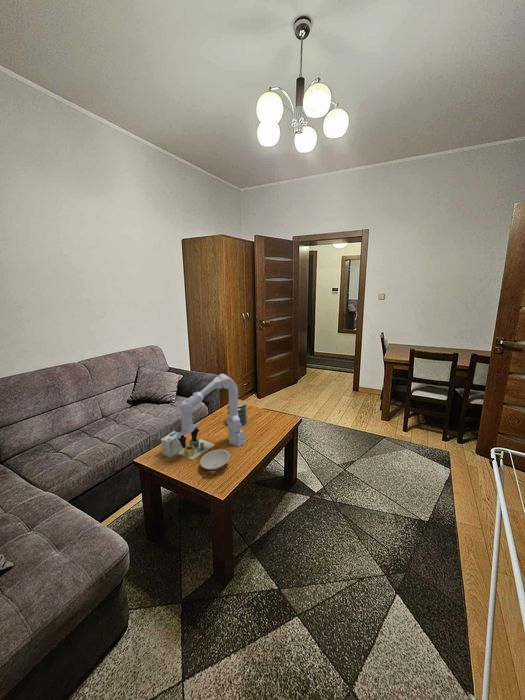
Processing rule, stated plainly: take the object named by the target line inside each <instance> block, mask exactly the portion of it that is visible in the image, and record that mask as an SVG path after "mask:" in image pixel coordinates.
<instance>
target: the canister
mask: <svg viewBox="0 0 525 700" xmlns="http://www.w3.org/2000/svg"><path fill="white" fill-rule="evenodd" d="M246 408H247V405H246V402H245V401H243V400H242V399H238V416H239V418H240V423H241V425H242V426H245V425H246V424H247V422H248V420H247V409H246ZM228 415H229V404H228V406H227V416H228ZM245 423H246V424H245Z"/></svg>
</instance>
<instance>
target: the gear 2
mask: <svg viewBox="0 0 525 700" xmlns="http://www.w3.org/2000/svg"><path fill="white" fill-rule="evenodd" d="M183 450H184V452H185V456H186V457H185V456H184V457H185V458H187V456H189V457H191V456H193V455H194V454H195V447H194V446H191V445H189V444H188V446H187V445H186V448H183Z"/></svg>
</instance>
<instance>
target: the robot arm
mask: <svg viewBox="0 0 525 700" xmlns="http://www.w3.org/2000/svg"><path fill="white" fill-rule="evenodd" d="M215 389H227V390H228V405H229V415H228V414H227V419H226V425H227V426H228V429H227V431H228V432H227V433H228V444H229V445H232V446H235V447H237V448H240V447H242V446H243V445H244V444H245V443H246V436H245V435H246V434H245V432H244V431H243V430H242V426H243V425H241V423H240V418H239V416H238V400H239V388H238V385H237V383H236V382H235V380H234V379H232V378H231V377H230V376H229V375H227V374H225V373H220V374H218V375H217V376H215V377H214V379H213V380H212V381H211V382H209V383H208V384H207V385H206V386H205V387H204V388H203V389H201V390H200V391H196V392H193V393H192V395H191V396H189V397H188V398H186V399H185V400H183V401H181V402H180V404H179V409H180V410H181V411H180V412H181V415H180V416H181V426H182V427H181V430H180V431H179V433H178V434H177V438H178V440H179V441H180V443H181V445H182V447H183V449H184V448H186V446H187V445H186V444H187V443H186V442H187V436H185V435H187V434H190V435H191V439H192V441H194V442H196V439H197V436H198V434H199V432H200V429H199V427H200V426H199V425H200V424H198V423H195V424H194V423H193V420H194V419H193V413H192V412H193V409H194V408H195V407H196V406H197V405H199V404H200V403H202V402H203V401H204V398H205V396H207V395H208V394H210V393H212V391H214V390H215Z"/></svg>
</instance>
